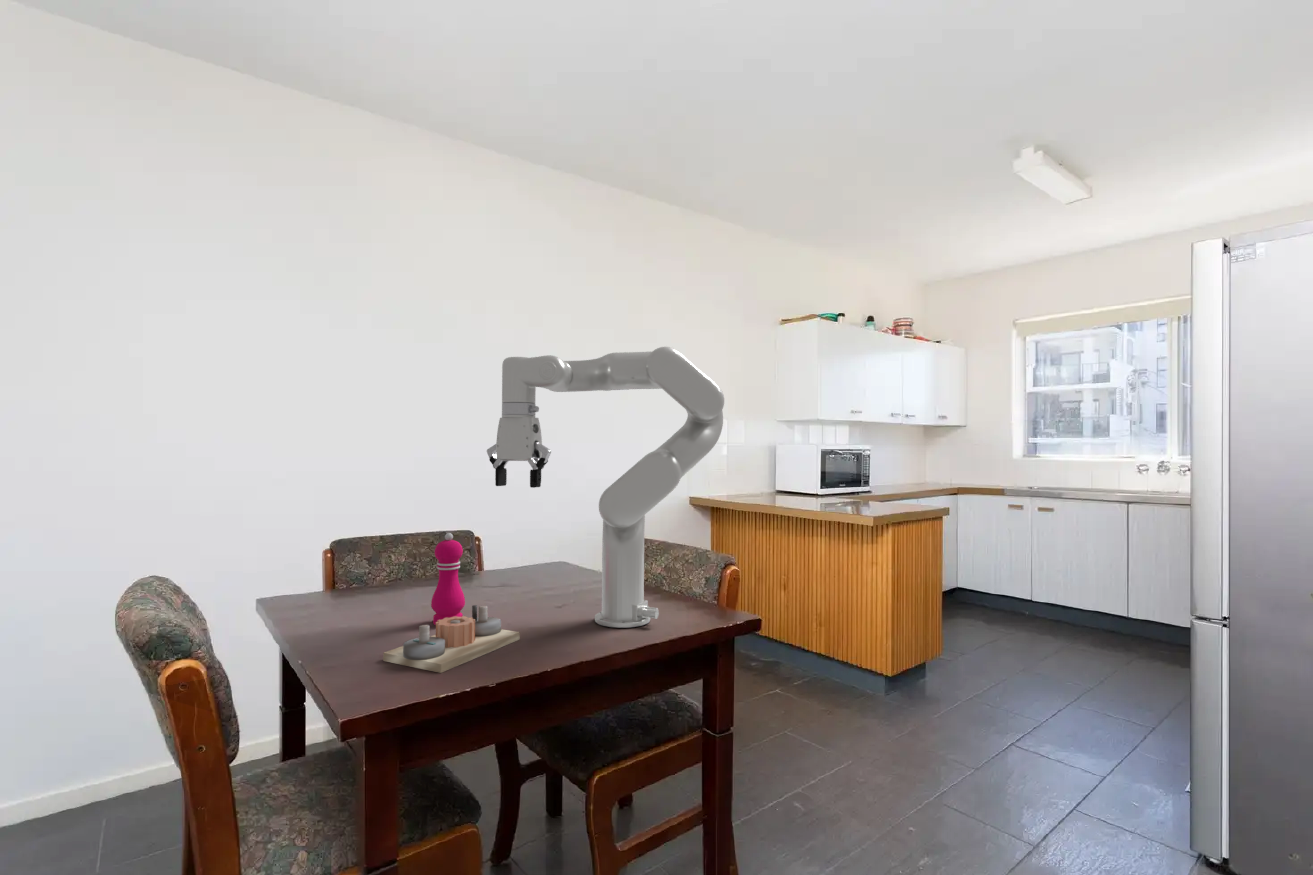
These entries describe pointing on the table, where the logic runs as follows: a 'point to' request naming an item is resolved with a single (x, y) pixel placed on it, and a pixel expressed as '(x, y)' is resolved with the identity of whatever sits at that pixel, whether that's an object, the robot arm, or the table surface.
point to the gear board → (440, 659)
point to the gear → (456, 631)
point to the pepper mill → (448, 580)
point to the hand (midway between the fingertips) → (517, 486)
